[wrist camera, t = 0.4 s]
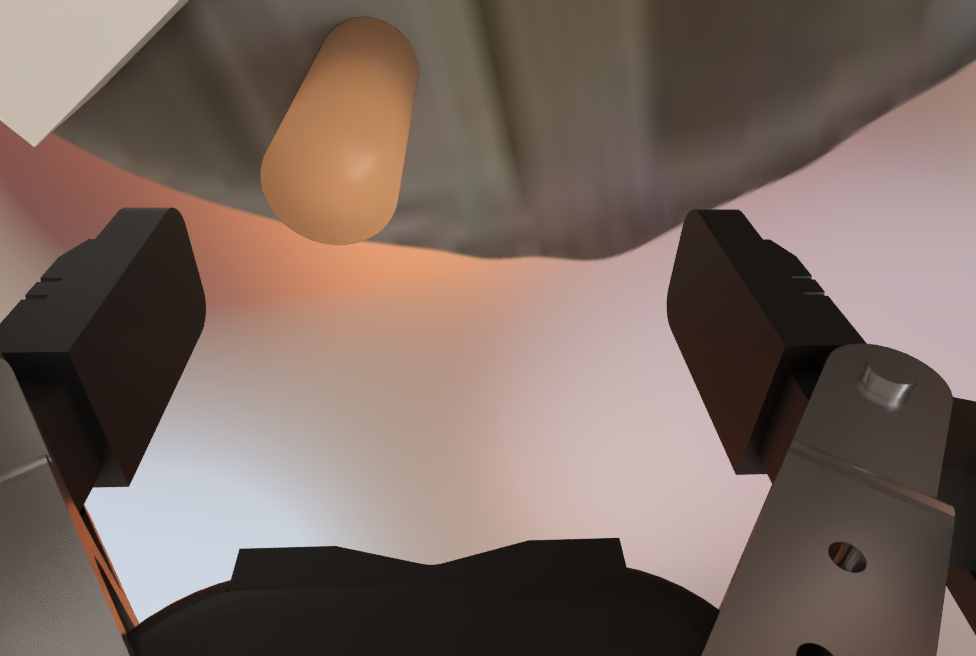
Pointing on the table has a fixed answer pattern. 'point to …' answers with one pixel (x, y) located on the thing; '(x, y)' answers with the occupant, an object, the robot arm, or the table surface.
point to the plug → (345, 136)
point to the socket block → (67, 54)
